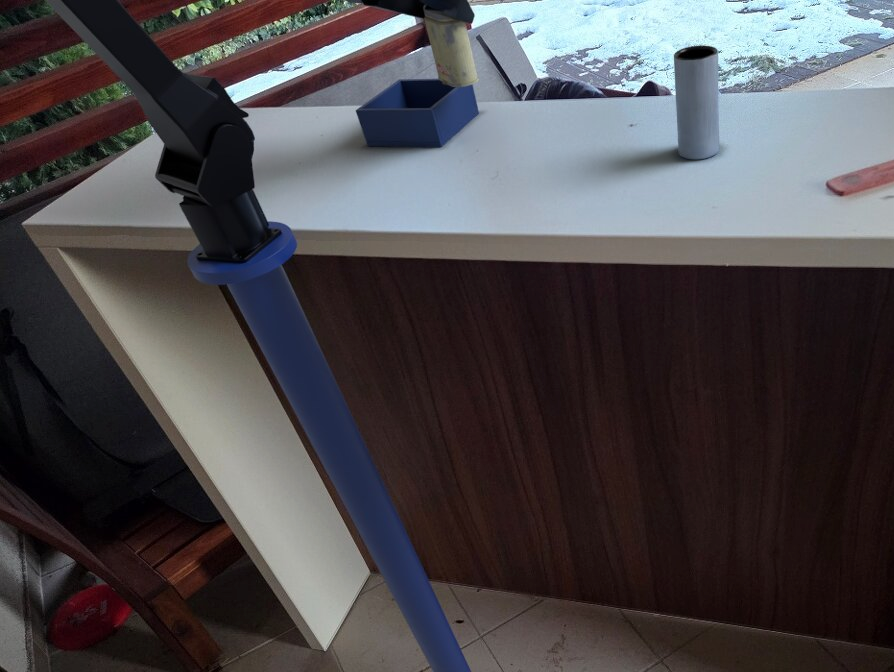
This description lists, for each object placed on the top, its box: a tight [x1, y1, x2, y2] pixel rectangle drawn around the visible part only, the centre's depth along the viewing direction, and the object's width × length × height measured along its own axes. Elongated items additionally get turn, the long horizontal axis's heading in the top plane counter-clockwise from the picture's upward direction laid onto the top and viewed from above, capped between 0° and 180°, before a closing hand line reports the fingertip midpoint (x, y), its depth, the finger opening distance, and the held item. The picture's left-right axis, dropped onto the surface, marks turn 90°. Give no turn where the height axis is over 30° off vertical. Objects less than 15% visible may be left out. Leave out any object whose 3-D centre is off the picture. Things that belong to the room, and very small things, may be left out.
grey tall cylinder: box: [673, 45, 720, 160], centre depth 80 cm, size 4×4×10 cm
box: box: [355, 78, 480, 148], centre depth 99 cm, size 11×11×5 cm
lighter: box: [423, 5, 479, 87], centre depth 88 cm, size 7×4×10 cm, turn 32°
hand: (452, 17), depth 88 cm, fingers closed on lighter, 7 cm apart
